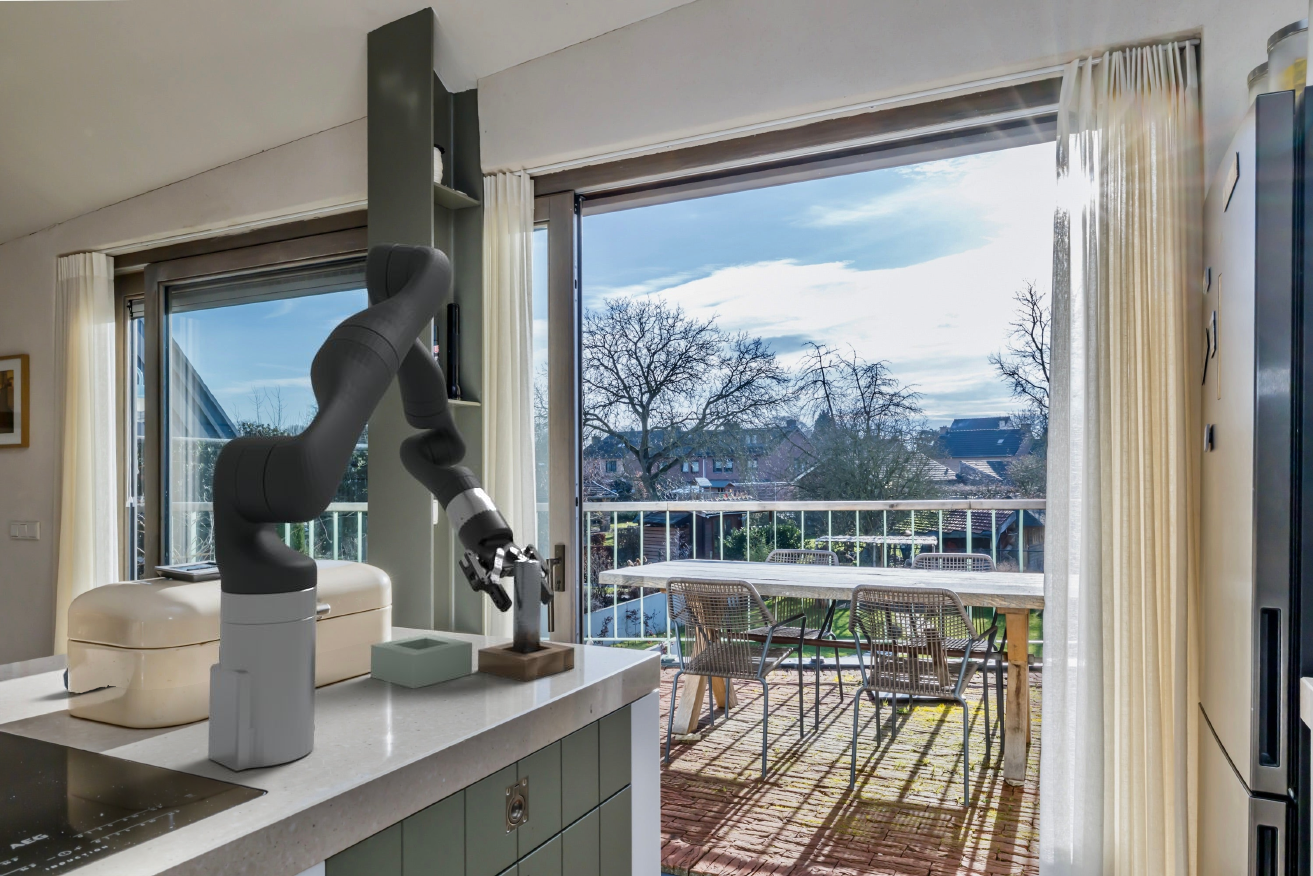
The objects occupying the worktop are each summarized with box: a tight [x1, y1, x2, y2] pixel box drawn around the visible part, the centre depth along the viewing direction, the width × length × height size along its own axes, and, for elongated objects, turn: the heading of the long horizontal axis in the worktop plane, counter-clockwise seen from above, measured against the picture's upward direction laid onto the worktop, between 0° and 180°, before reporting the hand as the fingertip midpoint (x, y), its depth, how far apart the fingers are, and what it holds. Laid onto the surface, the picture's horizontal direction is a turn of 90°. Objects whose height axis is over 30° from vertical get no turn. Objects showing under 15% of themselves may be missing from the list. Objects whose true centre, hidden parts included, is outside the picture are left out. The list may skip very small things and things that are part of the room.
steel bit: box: [512, 560, 542, 654], centre depth 123 cm, size 4×4×16 cm
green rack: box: [370, 633, 473, 689], centre depth 119 cm, size 10×10×4 cm
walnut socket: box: [477, 640, 575, 682], centre depth 123 cm, size 10×10×3 cm
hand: (529, 604), depth 123 cm, fingers open, 8 cm apart
